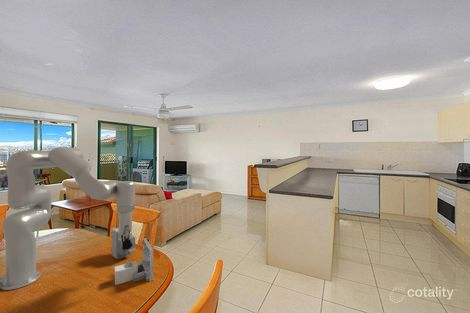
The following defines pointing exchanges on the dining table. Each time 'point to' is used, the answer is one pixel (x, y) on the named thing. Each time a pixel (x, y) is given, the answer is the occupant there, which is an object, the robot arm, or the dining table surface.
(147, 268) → the bracket
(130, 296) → the dining table surface
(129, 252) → the circuit breaker
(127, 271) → the block
